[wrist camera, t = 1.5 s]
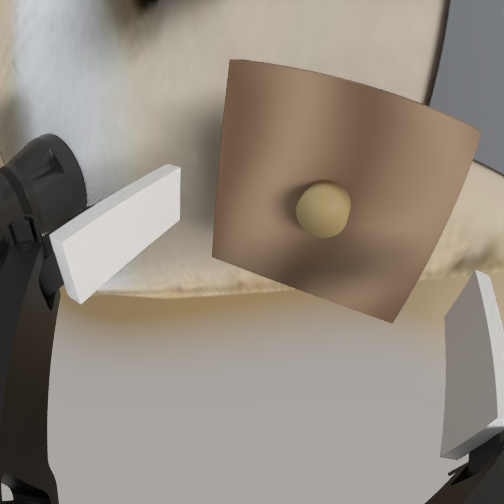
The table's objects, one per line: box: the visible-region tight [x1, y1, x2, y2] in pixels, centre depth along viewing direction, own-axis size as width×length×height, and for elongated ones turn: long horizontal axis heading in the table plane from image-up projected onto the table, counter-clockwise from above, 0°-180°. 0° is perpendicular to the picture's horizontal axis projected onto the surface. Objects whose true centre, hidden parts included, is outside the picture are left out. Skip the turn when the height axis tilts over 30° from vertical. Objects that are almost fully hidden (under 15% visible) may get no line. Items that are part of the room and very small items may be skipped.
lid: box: [212, 60, 482, 323], centre depth 15 cm, size 12×12×3 cm
